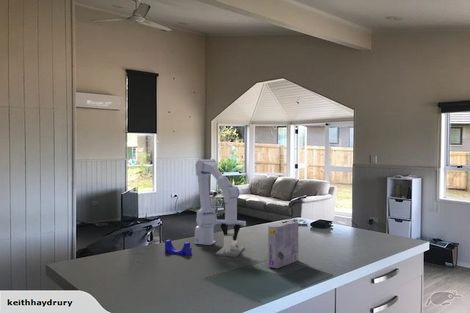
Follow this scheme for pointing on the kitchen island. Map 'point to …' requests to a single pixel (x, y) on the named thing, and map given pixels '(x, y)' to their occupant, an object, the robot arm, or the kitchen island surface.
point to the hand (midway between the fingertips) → (230, 239)
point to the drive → (229, 239)
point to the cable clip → (172, 250)
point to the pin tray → (230, 250)
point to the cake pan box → (282, 244)
